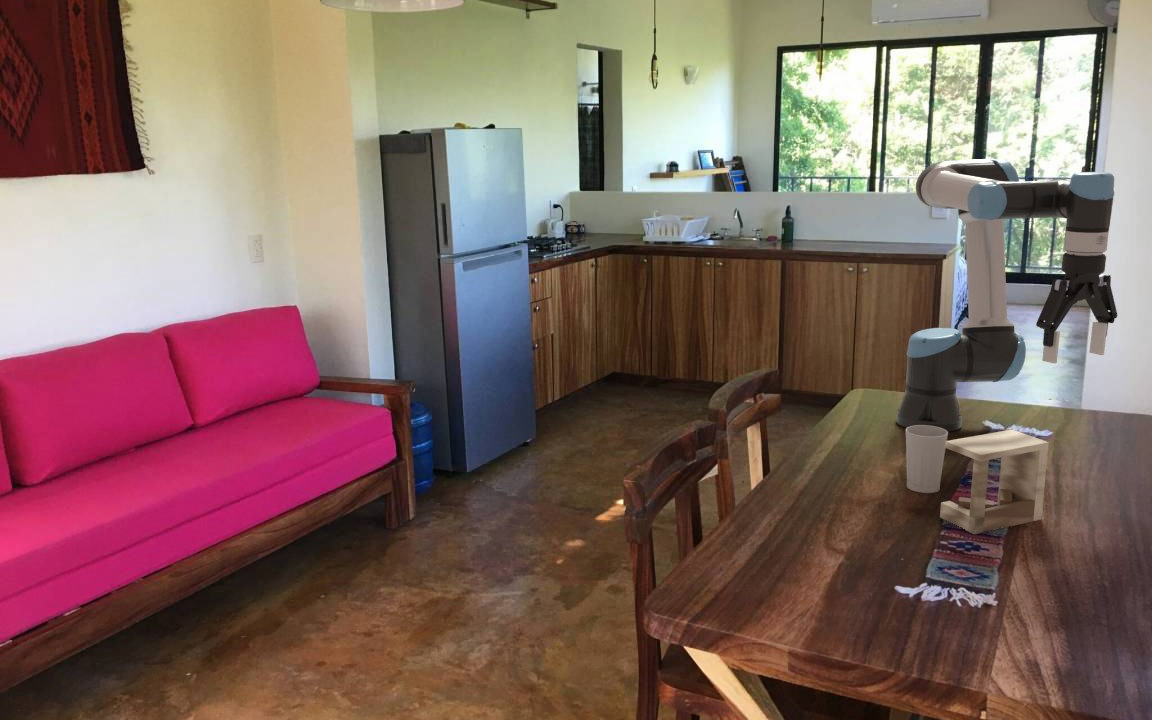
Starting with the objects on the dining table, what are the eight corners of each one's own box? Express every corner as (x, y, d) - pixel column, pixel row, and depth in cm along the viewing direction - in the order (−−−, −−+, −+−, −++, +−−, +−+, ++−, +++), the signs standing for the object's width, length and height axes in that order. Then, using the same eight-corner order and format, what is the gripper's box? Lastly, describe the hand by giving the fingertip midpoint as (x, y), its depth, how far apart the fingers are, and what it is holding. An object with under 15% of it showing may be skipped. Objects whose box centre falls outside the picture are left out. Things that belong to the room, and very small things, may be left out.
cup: (947, 495, 185) (951, 437, 182) (905, 493, 187) (908, 436, 184) (940, 481, 193) (944, 425, 190) (899, 479, 194) (903, 424, 192)
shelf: (940, 517, 175) (945, 441, 171) (1005, 503, 180) (1011, 429, 177) (974, 534, 167) (980, 455, 164) (1041, 519, 173) (1048, 442, 169)
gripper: (1056, 260, 175) (1045, 369, 180) (1145, 249, 184) (1132, 354, 190) (1022, 255, 181) (1013, 361, 186) (1110, 245, 191) (1098, 346, 196)
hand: (1073, 357), depth 188 cm, fingers open, 13 cm apart
